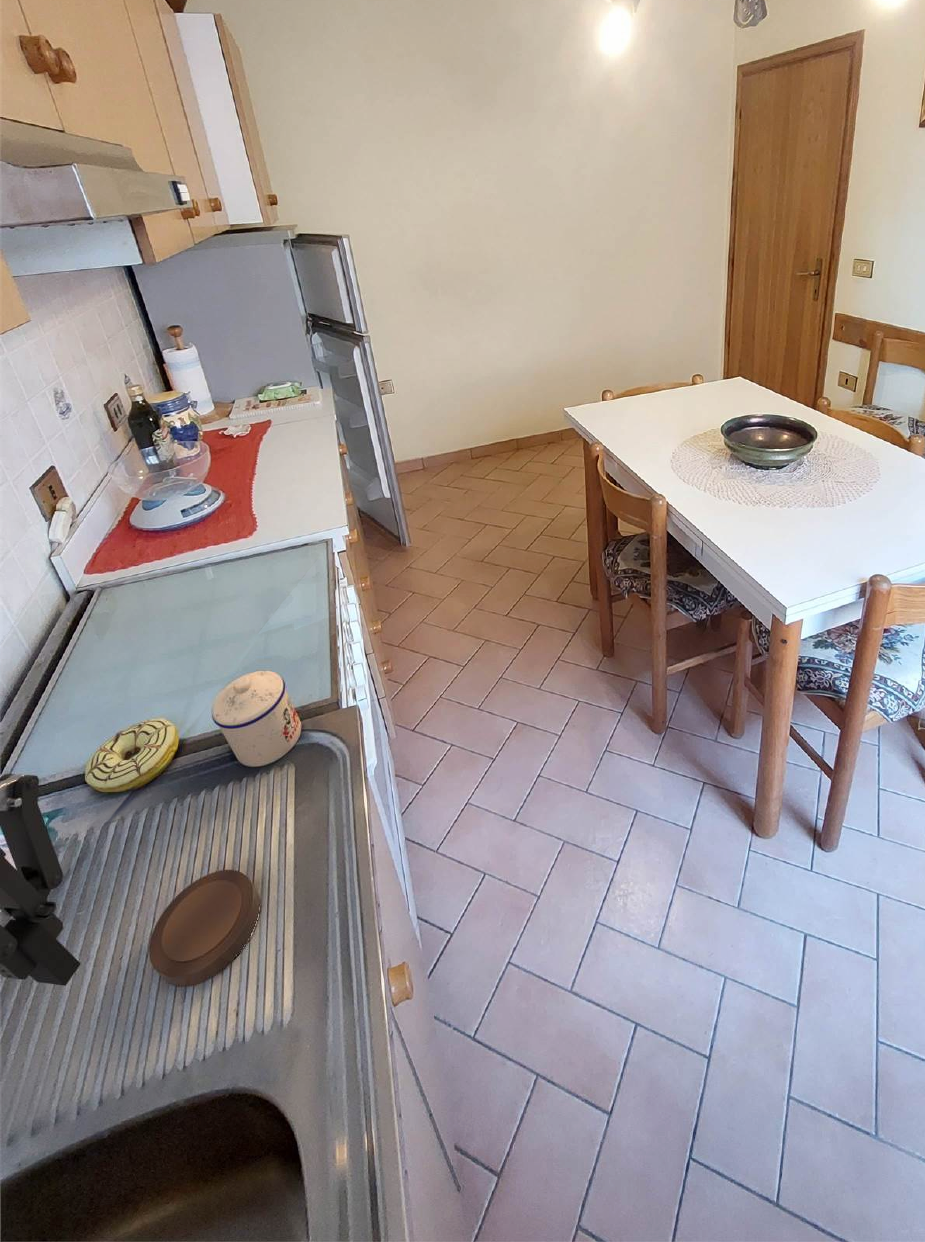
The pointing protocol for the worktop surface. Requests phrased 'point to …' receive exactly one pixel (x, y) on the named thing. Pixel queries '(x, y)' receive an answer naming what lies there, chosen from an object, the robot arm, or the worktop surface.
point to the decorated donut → (120, 774)
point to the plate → (204, 928)
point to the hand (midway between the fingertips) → (58, 972)
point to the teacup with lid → (257, 718)
